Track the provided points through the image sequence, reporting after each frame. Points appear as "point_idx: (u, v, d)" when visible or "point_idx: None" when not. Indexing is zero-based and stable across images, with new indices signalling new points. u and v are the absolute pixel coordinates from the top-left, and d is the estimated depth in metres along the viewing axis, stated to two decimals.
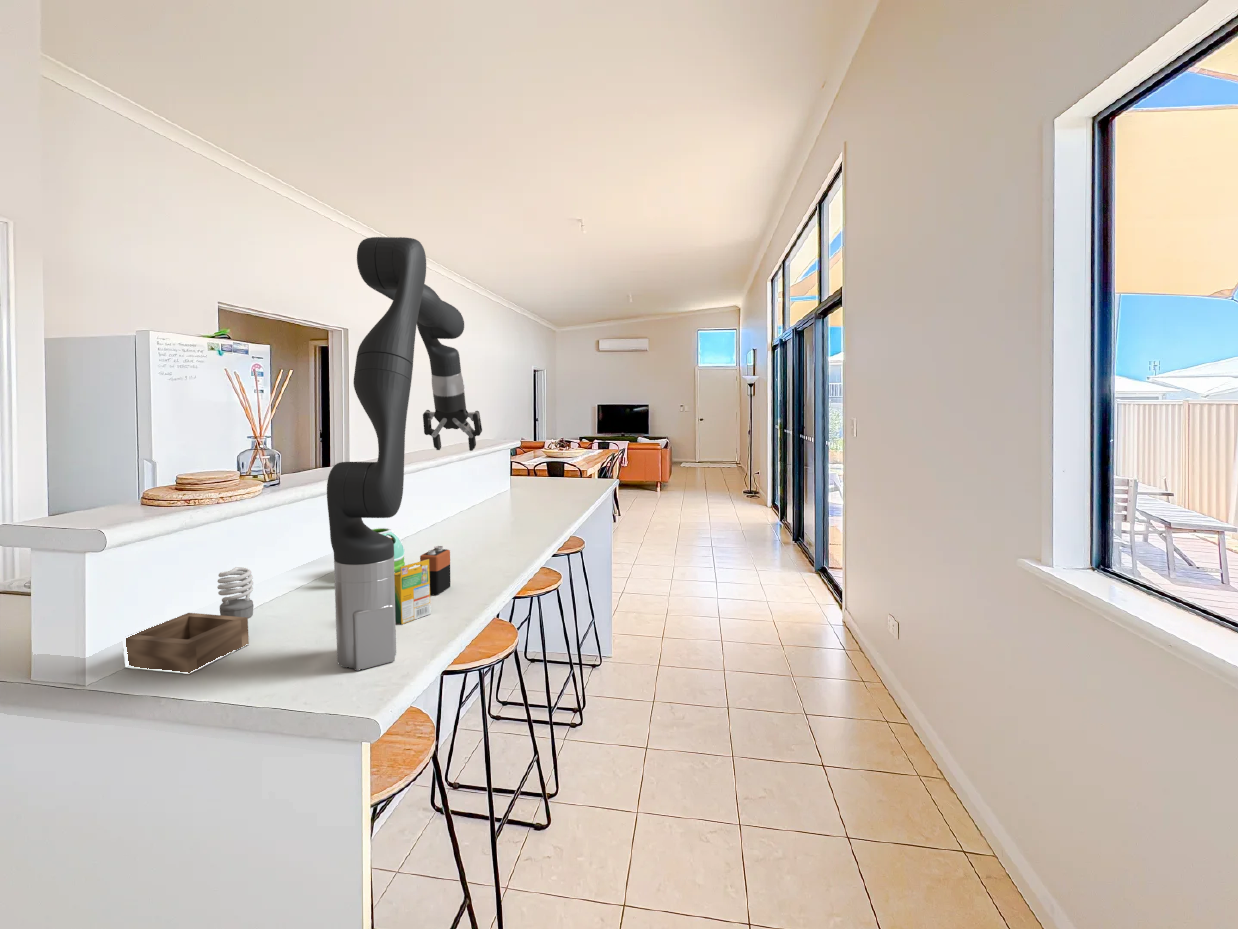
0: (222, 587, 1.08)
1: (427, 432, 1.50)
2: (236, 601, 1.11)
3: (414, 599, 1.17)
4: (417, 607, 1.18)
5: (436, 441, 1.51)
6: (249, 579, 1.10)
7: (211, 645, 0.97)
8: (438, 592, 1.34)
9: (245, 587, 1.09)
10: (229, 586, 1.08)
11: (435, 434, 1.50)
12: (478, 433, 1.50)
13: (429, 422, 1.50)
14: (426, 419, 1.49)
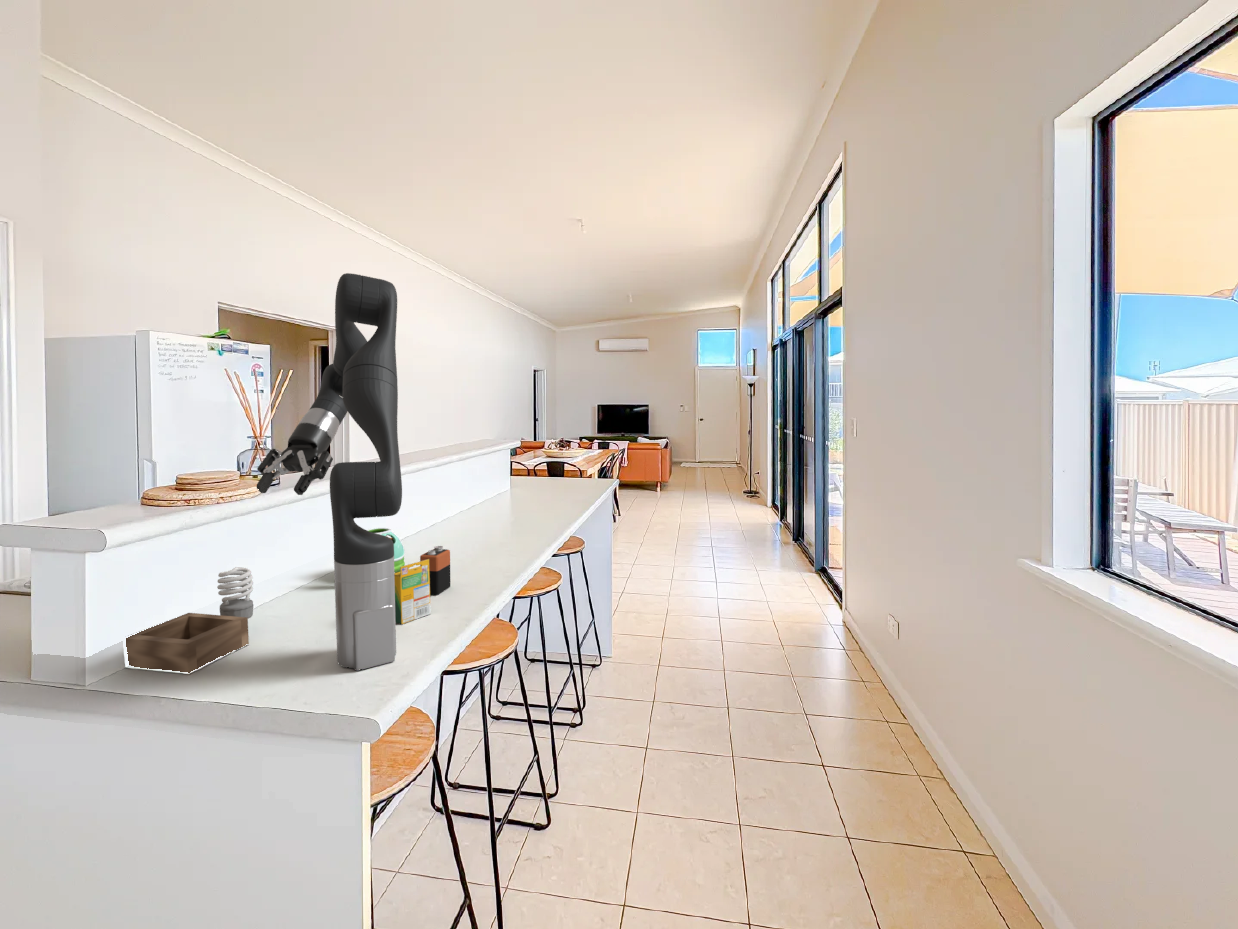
0: (222, 587, 1.08)
1: (261, 467, 1.24)
2: (236, 601, 1.11)
3: (414, 599, 1.17)
4: (417, 607, 1.18)
5: (263, 477, 1.22)
6: (249, 579, 1.10)
7: (211, 645, 0.97)
8: (438, 592, 1.34)
9: (245, 587, 1.09)
10: (229, 586, 1.08)
11: (268, 469, 1.23)
12: (316, 469, 1.22)
13: (271, 462, 1.26)
14: (270, 454, 1.26)
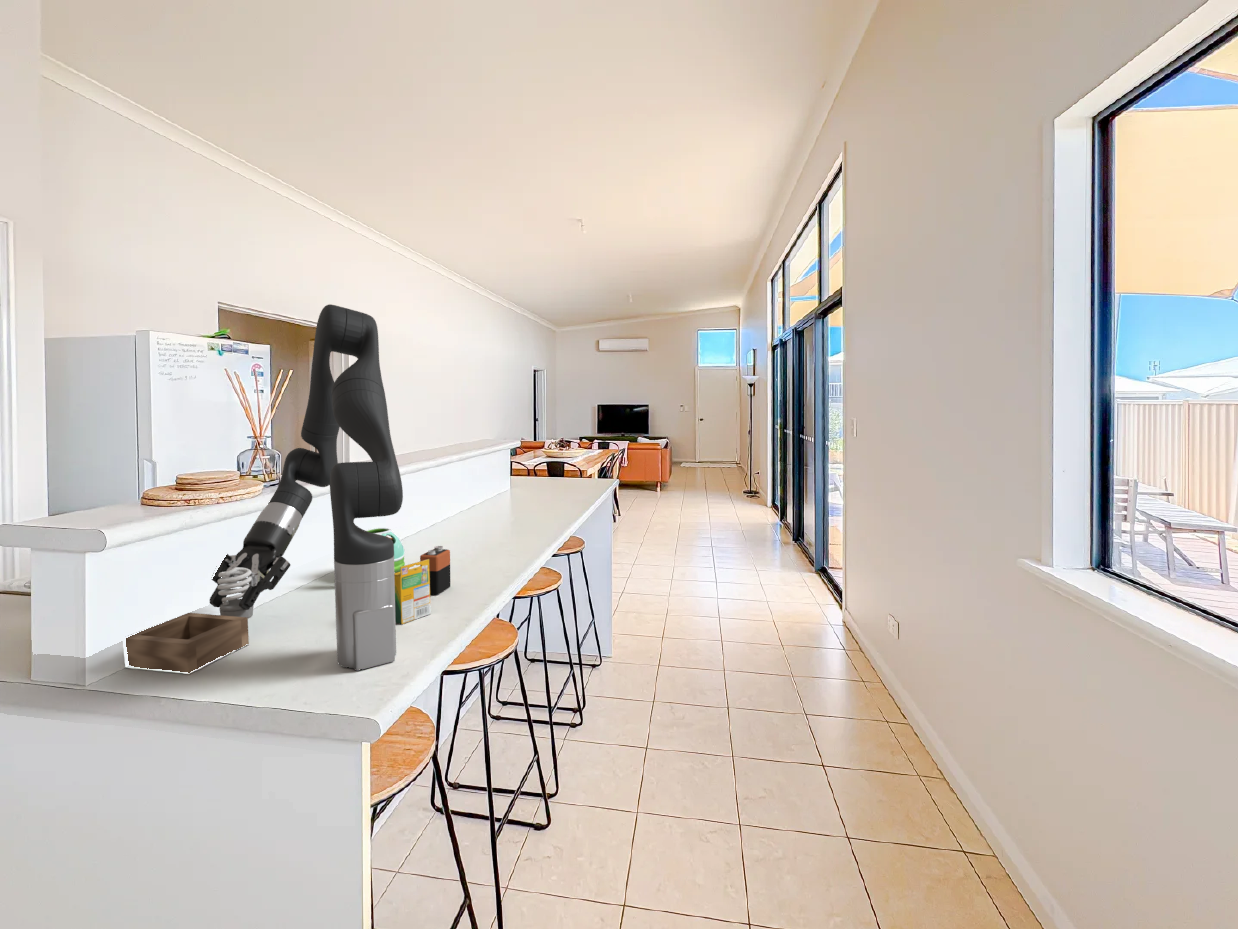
0: (222, 587, 1.08)
1: (216, 576, 1.12)
2: (236, 601, 1.11)
3: (414, 599, 1.17)
4: (417, 607, 1.18)
5: (217, 589, 1.10)
6: (249, 579, 1.10)
7: (211, 645, 0.97)
8: (438, 592, 1.34)
9: (245, 587, 1.09)
10: (229, 586, 1.08)
11: None
12: (265, 580, 1.10)
13: (226, 568, 1.14)
14: (223, 560, 1.15)
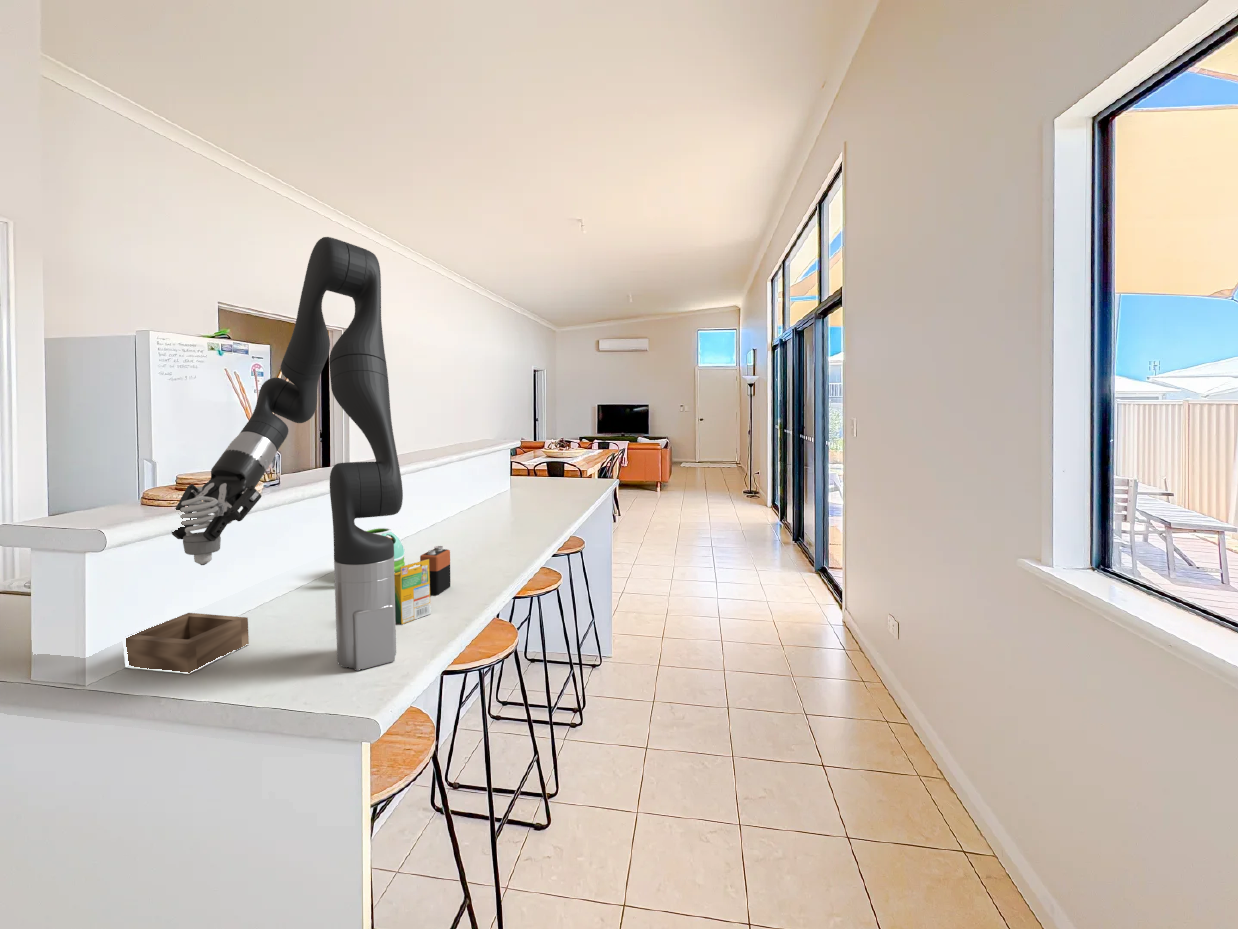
0: (185, 515, 0.99)
1: (180, 507, 1.03)
2: (201, 533, 1.02)
3: (414, 599, 1.17)
4: (417, 607, 1.18)
5: None
6: (215, 508, 1.01)
7: (211, 645, 0.97)
8: (438, 592, 1.34)
9: (210, 516, 1.00)
10: (192, 514, 0.99)
11: None
12: (232, 509, 1.01)
13: None
14: (188, 491, 1.05)
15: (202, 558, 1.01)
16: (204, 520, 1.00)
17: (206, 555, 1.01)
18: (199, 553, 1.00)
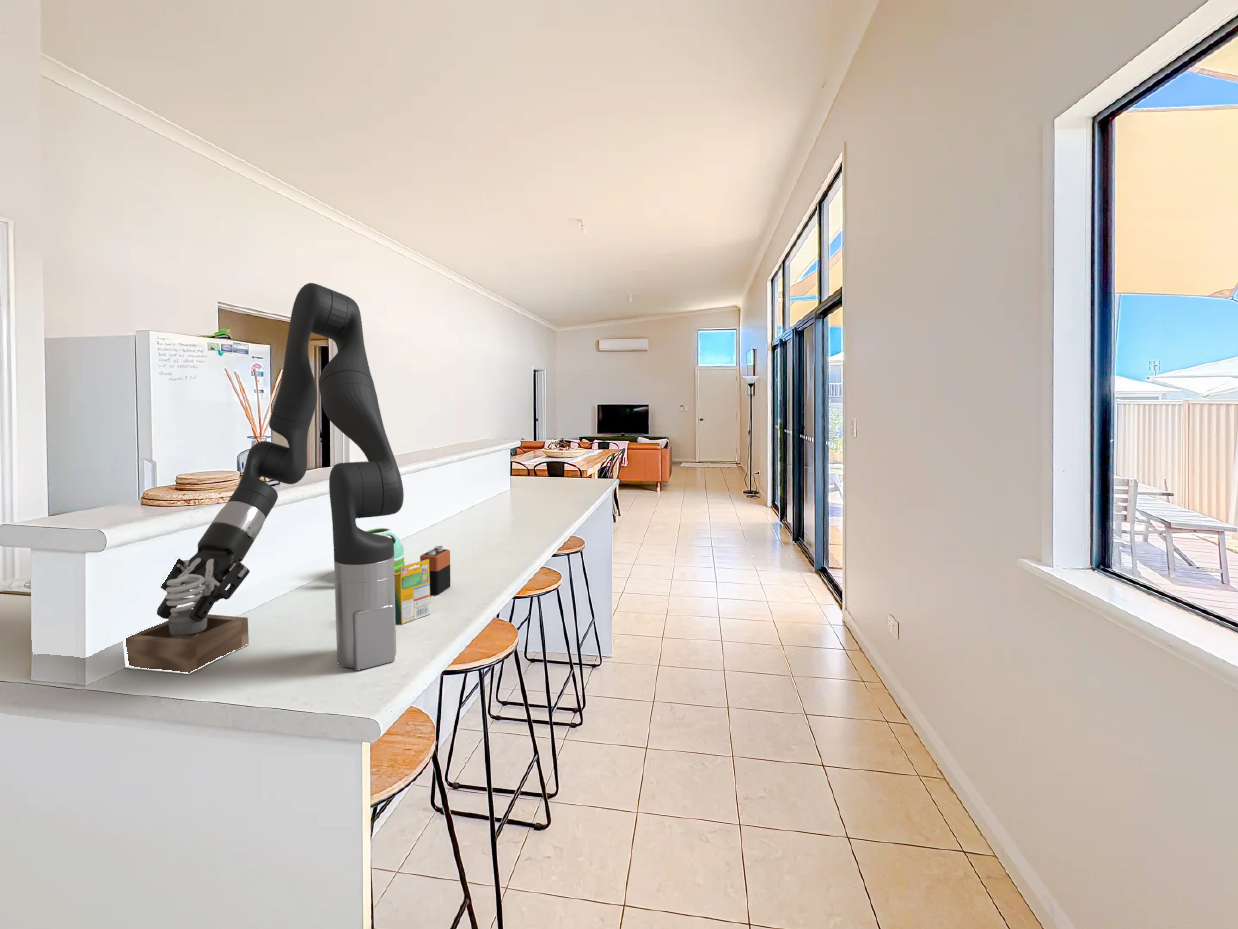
0: (170, 597, 0.96)
1: (165, 584, 1.01)
2: (188, 612, 1.00)
3: (414, 599, 1.18)
4: (417, 607, 1.18)
5: (166, 599, 0.99)
6: (202, 588, 0.99)
7: (211, 645, 0.97)
8: (438, 592, 1.34)
9: (197, 597, 0.98)
10: (178, 596, 0.96)
11: None
12: (219, 589, 0.99)
13: (177, 575, 1.03)
14: (174, 565, 1.03)
15: (188, 638, 0.99)
16: (190, 601, 0.97)
17: (192, 635, 0.99)
18: (185, 634, 0.97)
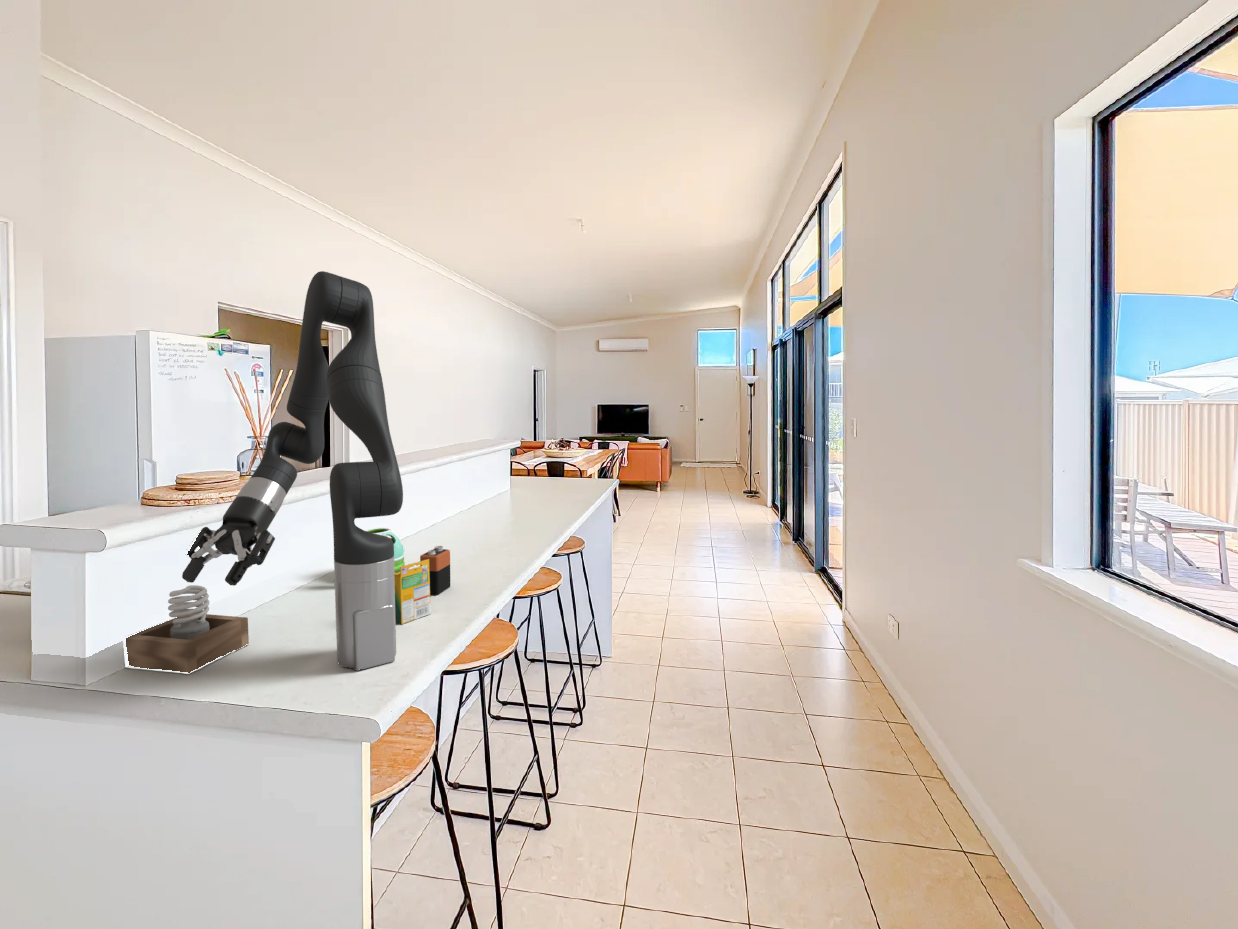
0: (173, 608, 0.96)
1: None
2: (190, 623, 1.00)
3: (414, 599, 1.17)
4: (417, 607, 1.18)
5: (191, 564, 1.04)
6: (204, 599, 0.99)
7: (211, 645, 0.97)
8: (438, 592, 1.34)
9: (199, 608, 0.98)
10: (180, 607, 0.96)
11: (197, 554, 1.06)
12: (253, 554, 1.04)
13: (203, 543, 1.08)
14: (202, 534, 1.08)
15: None
16: (192, 612, 0.97)
17: None
18: None
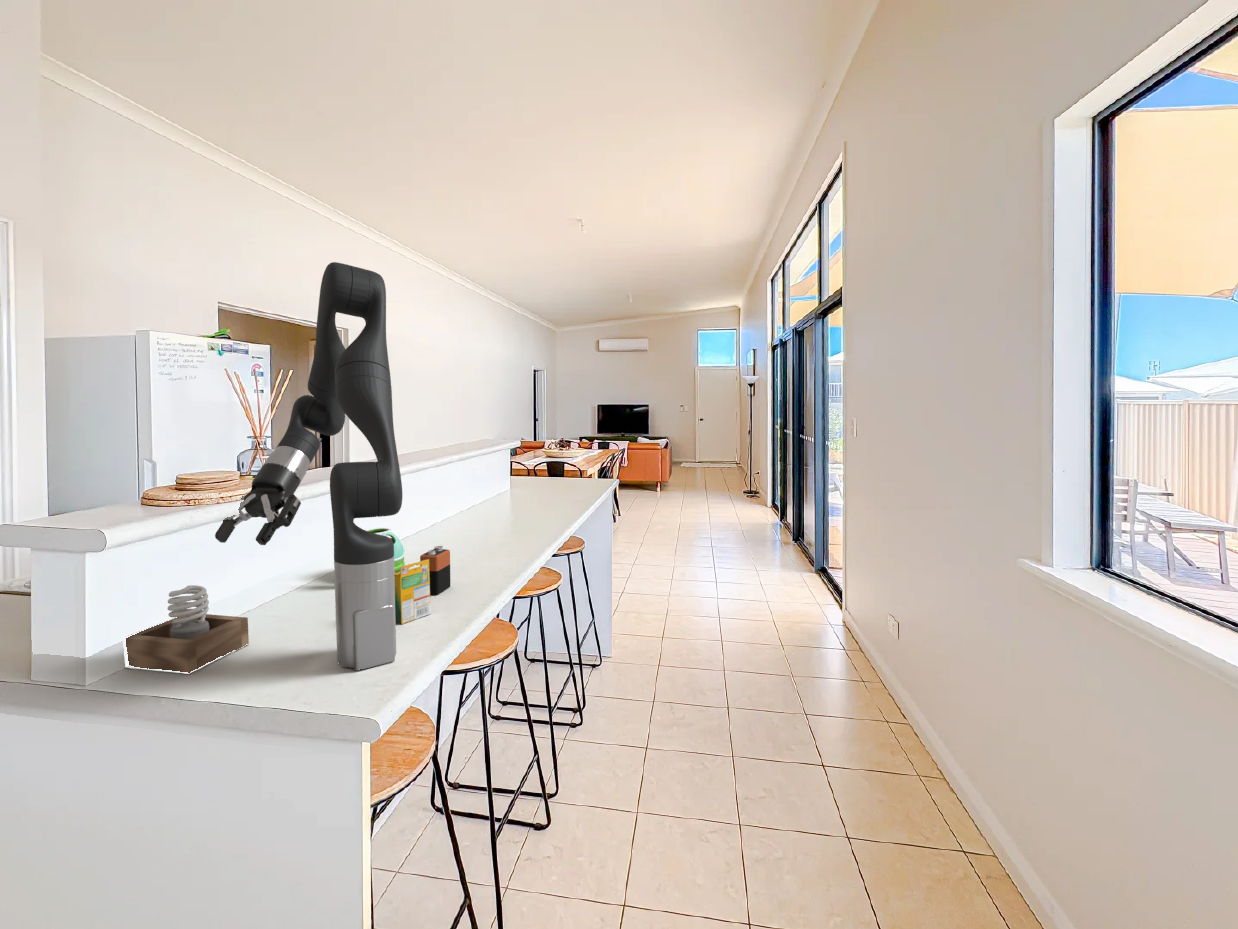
0: (172, 608, 0.96)
1: None
2: (189, 623, 1.00)
3: (414, 599, 1.17)
4: (417, 607, 1.18)
5: (223, 525, 1.11)
6: (203, 599, 0.99)
7: (211, 645, 0.97)
8: (438, 592, 1.34)
9: (199, 608, 0.98)
10: (180, 607, 0.96)
11: None
12: (281, 516, 1.11)
13: None
14: None
15: None
16: (192, 612, 0.97)
17: None
18: None
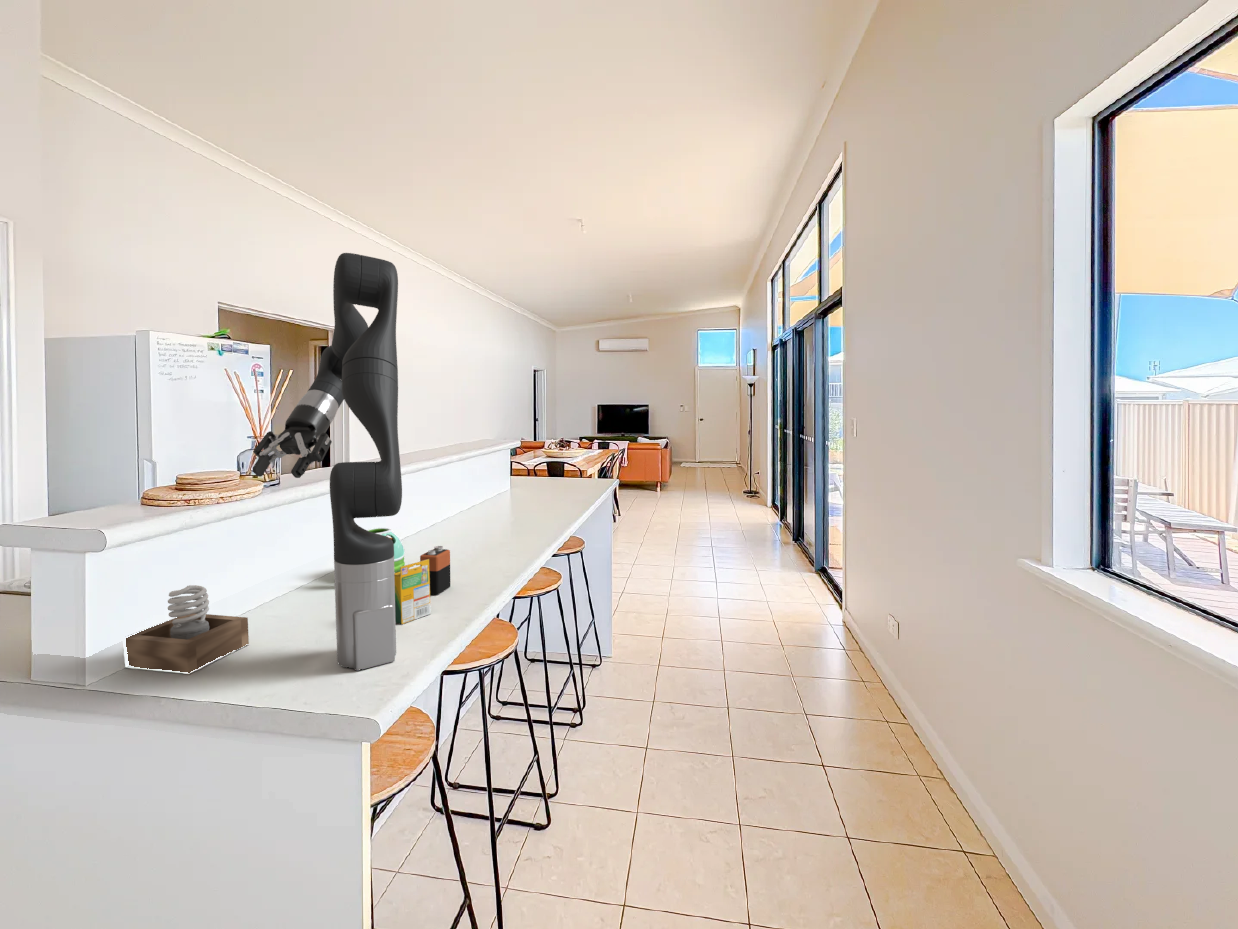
0: (172, 608, 0.96)
1: (257, 450, 1.20)
2: (190, 623, 1.00)
3: (414, 599, 1.17)
4: (417, 607, 1.18)
5: (260, 460, 1.18)
6: (204, 599, 0.99)
7: (211, 645, 0.97)
8: (438, 592, 1.34)
9: (199, 608, 0.98)
10: (180, 607, 0.96)
11: (264, 452, 1.19)
12: (314, 451, 1.18)
13: (268, 445, 1.22)
14: (267, 437, 1.22)
15: None
16: (192, 612, 0.97)
17: None
18: None
